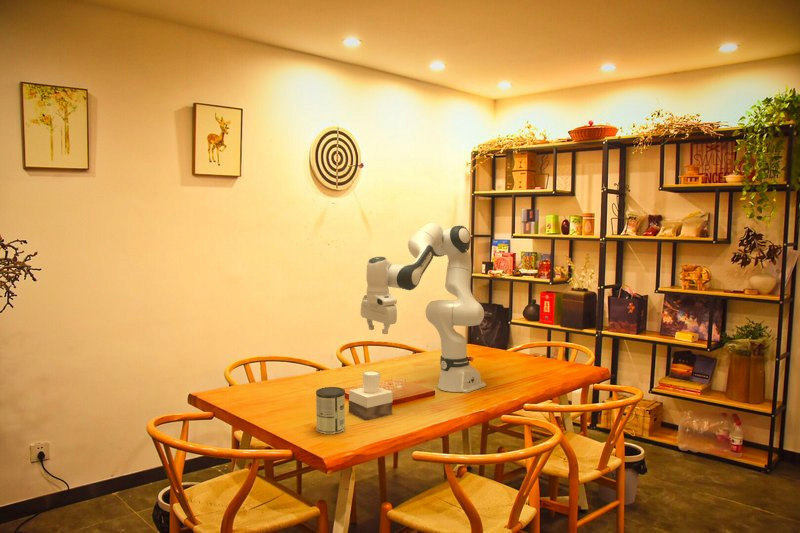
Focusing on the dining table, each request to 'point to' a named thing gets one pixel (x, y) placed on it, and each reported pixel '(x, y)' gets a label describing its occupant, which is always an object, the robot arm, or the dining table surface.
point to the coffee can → (330, 410)
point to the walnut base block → (370, 410)
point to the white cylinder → (371, 381)
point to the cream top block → (370, 397)
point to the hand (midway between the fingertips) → (378, 331)
